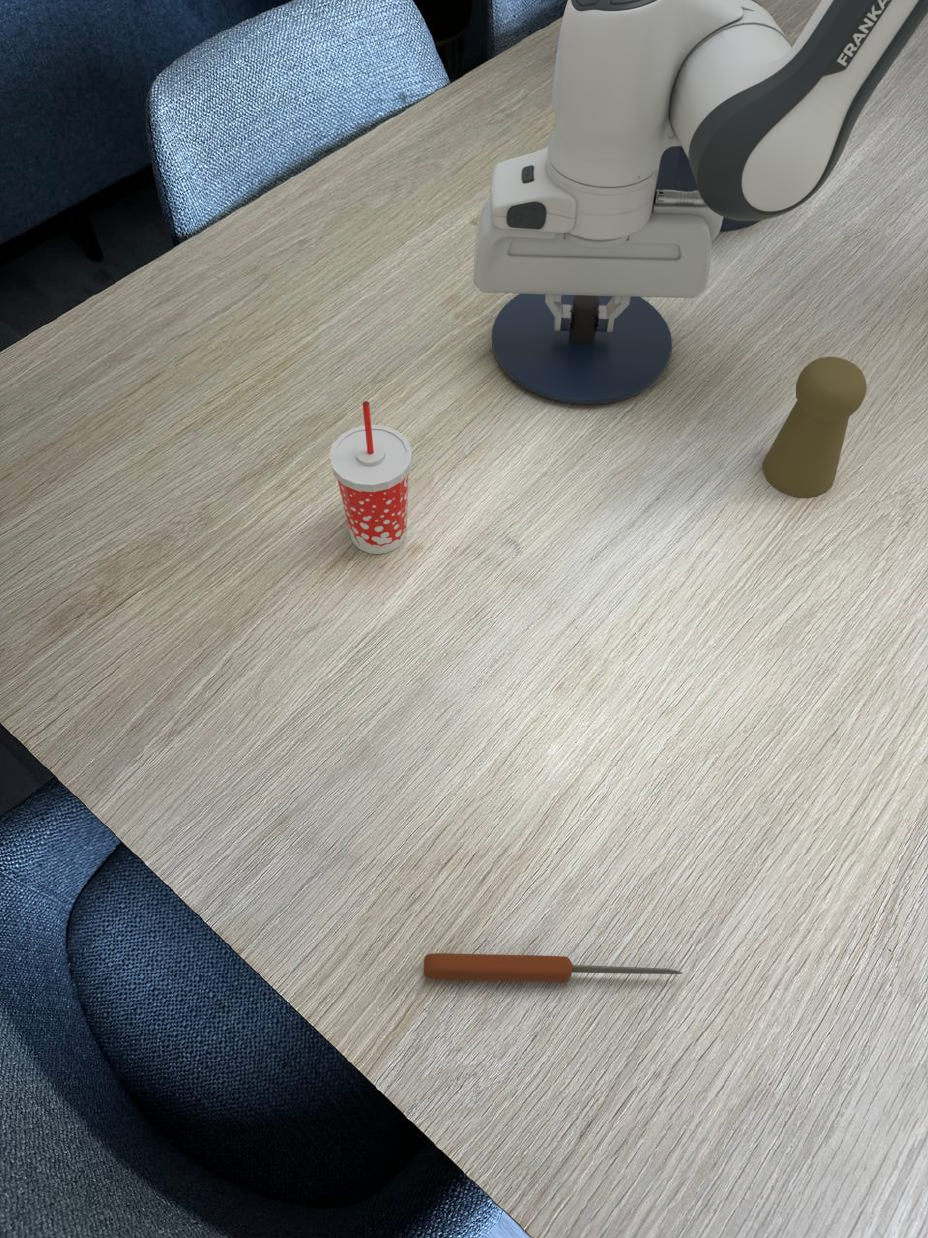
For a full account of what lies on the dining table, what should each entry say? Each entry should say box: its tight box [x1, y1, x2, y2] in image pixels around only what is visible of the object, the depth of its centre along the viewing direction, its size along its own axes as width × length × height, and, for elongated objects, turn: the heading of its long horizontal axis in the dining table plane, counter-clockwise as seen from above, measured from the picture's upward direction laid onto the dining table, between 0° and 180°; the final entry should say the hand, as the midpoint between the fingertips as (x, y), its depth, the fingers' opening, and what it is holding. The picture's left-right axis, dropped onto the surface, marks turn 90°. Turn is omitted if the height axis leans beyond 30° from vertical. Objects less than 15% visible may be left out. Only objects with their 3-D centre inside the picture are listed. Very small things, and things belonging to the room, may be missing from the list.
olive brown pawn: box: [762, 356, 868, 499], centre depth 83 cm, size 6×6×11 cm
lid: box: [491, 294, 673, 405], centre depth 94 cm, size 17×17×5 cm
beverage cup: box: [328, 400, 413, 555], centre depth 78 cm, size 6×6×14 cm
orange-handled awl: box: [423, 952, 683, 984], centre depth 63 cm, size 16×1×2 cm, turn 89°
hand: (582, 327), depth 95 cm, fingers closed on lid, 2 cm apart
